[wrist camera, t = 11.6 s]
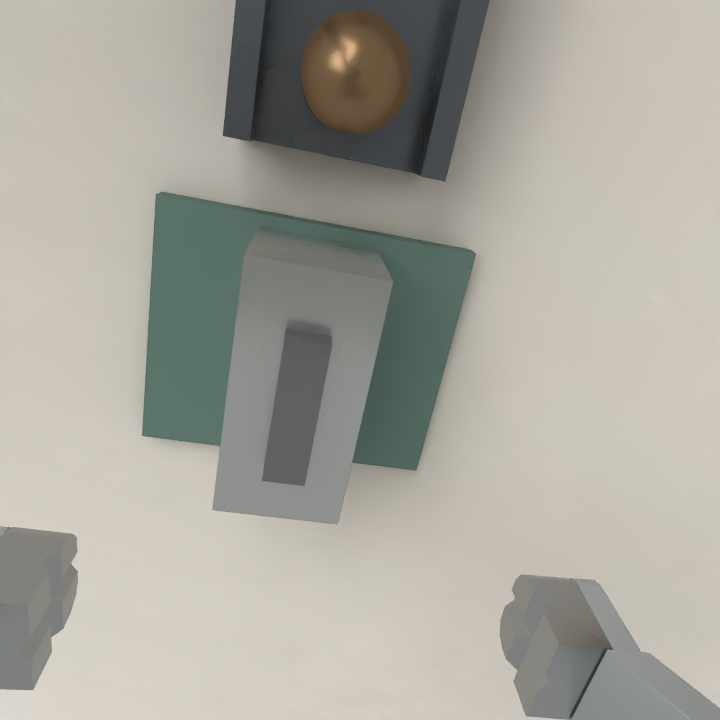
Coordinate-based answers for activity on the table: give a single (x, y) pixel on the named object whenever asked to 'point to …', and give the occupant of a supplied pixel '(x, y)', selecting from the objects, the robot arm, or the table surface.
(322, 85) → the dark grey channel holder
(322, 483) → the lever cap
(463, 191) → the table surface
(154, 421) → the rubber mat
